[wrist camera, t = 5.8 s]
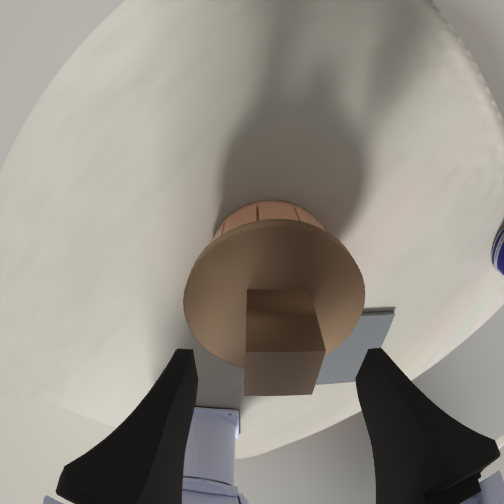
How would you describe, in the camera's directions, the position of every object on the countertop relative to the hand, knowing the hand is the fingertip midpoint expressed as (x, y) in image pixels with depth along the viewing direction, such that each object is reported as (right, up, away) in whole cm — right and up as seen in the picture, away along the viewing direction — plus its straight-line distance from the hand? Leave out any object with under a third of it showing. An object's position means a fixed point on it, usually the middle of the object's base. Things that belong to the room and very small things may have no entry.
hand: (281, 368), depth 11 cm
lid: (0, +2, +4) cm, 5 cm away
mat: (+6, -4, +12) cm, 14 cm away
